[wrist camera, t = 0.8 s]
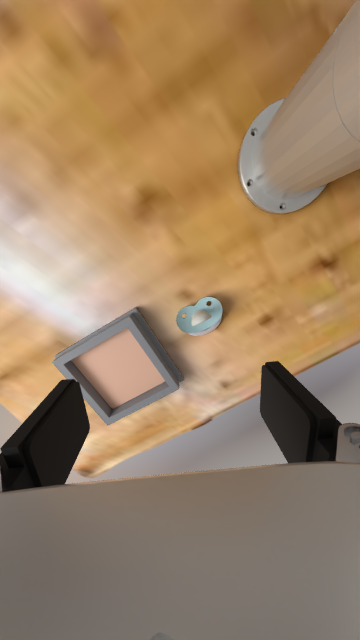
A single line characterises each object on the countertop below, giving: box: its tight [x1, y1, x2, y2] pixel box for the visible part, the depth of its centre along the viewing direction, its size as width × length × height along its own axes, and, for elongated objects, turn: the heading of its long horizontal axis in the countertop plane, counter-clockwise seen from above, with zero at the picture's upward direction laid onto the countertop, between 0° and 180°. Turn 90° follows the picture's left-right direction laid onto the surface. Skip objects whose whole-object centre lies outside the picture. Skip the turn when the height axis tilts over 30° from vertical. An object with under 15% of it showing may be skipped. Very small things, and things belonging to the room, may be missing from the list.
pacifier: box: [176, 297, 223, 336], centre depth 32 cm, size 7×6×6 cm
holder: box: [52, 307, 184, 425], centre depth 35 cm, size 16×15×3 cm
